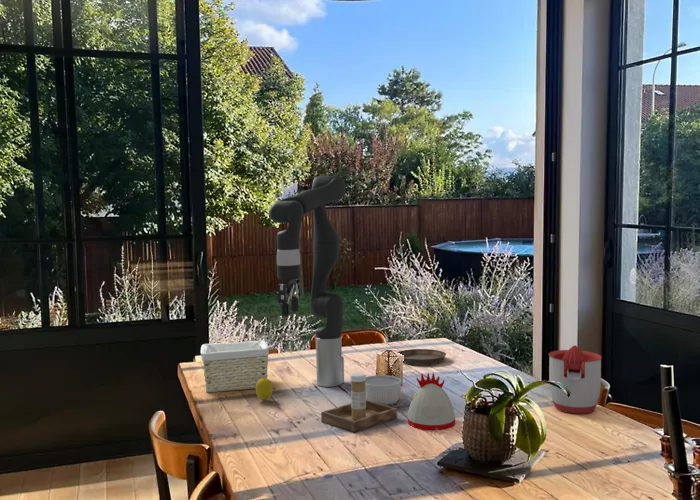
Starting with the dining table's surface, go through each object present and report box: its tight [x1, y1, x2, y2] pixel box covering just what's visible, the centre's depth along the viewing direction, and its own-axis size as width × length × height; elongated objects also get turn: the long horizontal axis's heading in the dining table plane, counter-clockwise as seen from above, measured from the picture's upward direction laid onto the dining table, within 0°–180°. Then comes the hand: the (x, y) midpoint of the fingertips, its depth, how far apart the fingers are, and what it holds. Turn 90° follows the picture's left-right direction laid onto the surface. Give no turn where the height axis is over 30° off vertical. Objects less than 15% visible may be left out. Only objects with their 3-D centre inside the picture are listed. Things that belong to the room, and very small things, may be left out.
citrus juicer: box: [548, 344, 603, 415], centre depth 201 cm, size 16×17×20 cm
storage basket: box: [200, 339, 270, 393], centre depth 236 cm, size 24×16×15 cm
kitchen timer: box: [407, 372, 456, 432], centre depth 192 cm, size 14×14×15 cm
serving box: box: [320, 400, 398, 434], centre depth 195 cm, size 18×14×3 cm
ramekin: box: [365, 374, 402, 406], centre depth 215 cm, size 13×13×7 cm
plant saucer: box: [396, 348, 447, 366], centre depth 270 cm, size 21×21×3 cm
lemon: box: [255, 377, 273, 402], centre depth 217 cm, size 6×6×8 cm
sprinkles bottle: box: [350, 372, 367, 420], centre depth 195 cm, size 5×5×13 cm
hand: (290, 313), depth 210 cm, fingers open, 8 cm apart
